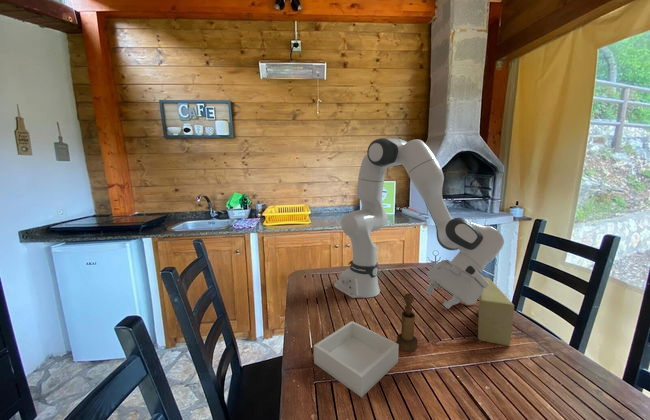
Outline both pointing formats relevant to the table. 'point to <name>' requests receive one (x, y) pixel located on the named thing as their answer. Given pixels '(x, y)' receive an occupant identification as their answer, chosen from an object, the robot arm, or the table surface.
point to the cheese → (495, 316)
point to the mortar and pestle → (407, 327)
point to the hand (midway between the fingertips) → (436, 299)
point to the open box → (356, 357)
